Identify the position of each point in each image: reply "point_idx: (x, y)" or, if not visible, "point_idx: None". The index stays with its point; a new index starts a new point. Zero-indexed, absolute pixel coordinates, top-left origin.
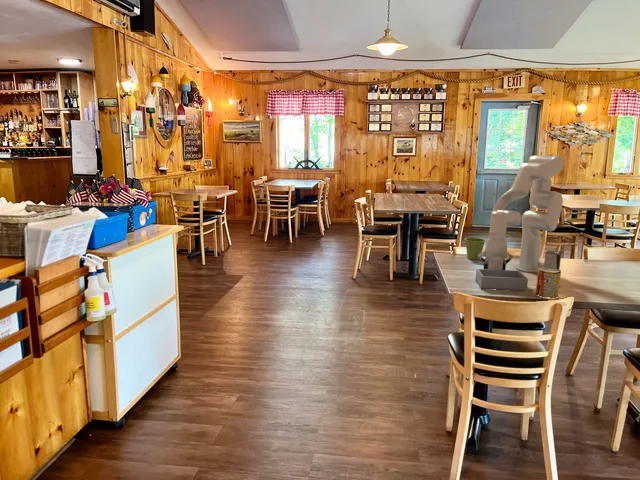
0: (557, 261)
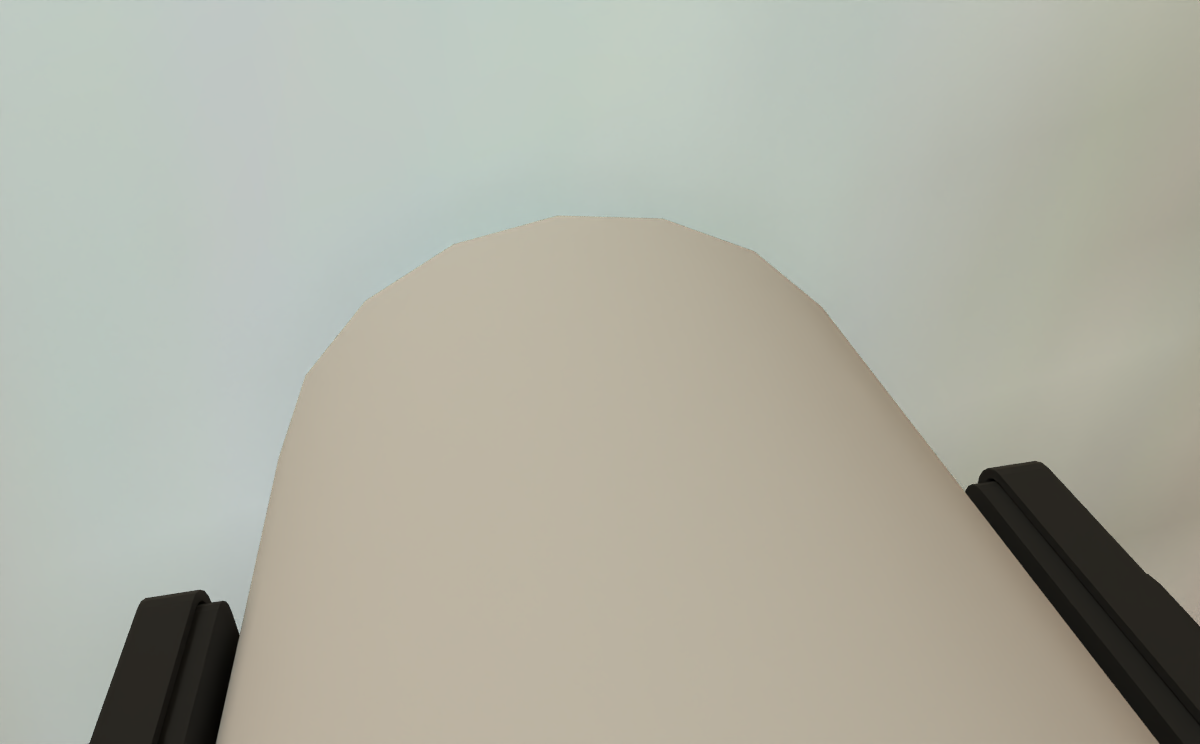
0: None
